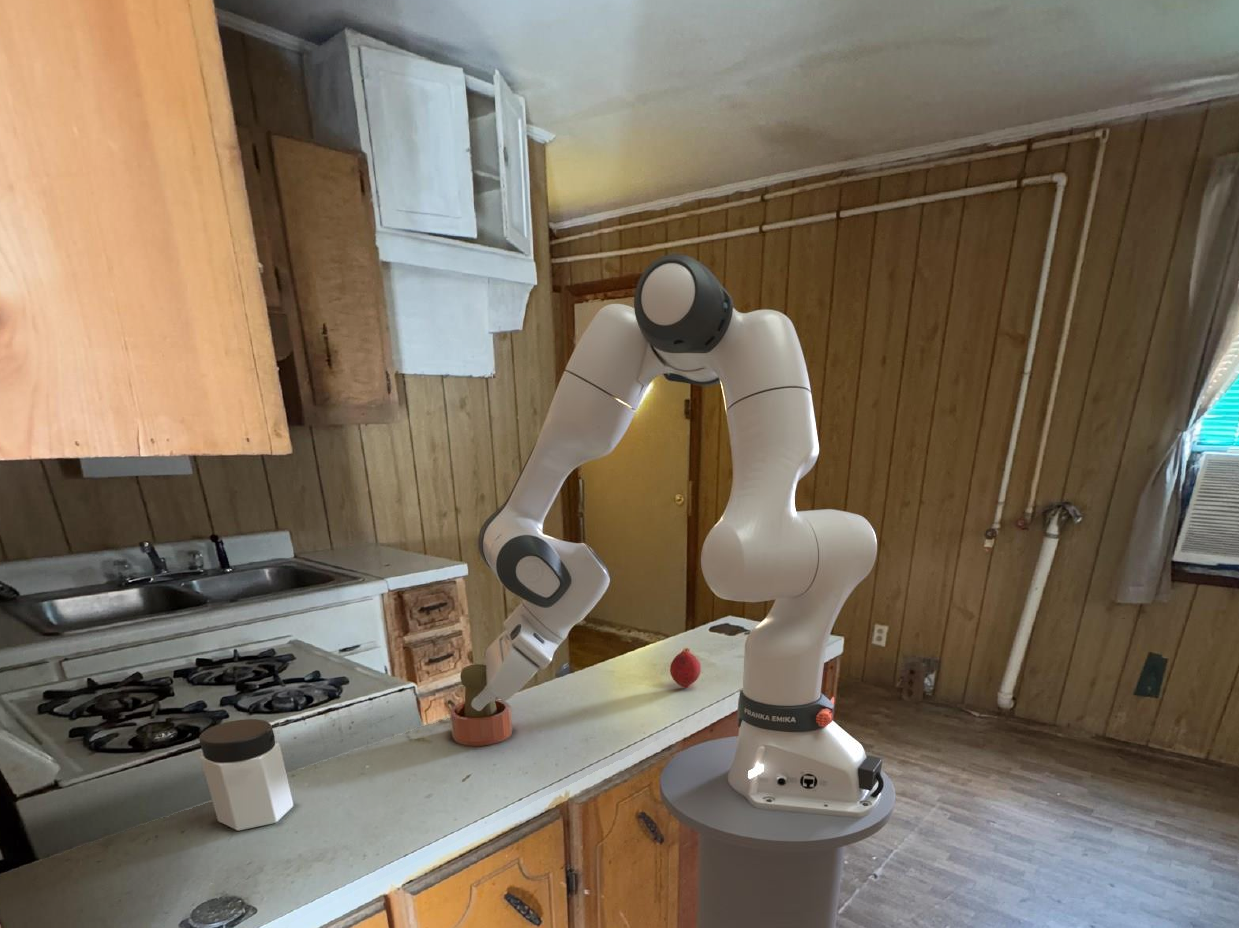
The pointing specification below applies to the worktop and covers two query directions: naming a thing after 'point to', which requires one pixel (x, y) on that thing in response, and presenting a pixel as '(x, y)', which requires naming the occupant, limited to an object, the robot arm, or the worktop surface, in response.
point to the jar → (245, 773)
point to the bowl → (481, 725)
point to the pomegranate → (685, 668)
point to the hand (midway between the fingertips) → (474, 697)
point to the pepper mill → (476, 691)
